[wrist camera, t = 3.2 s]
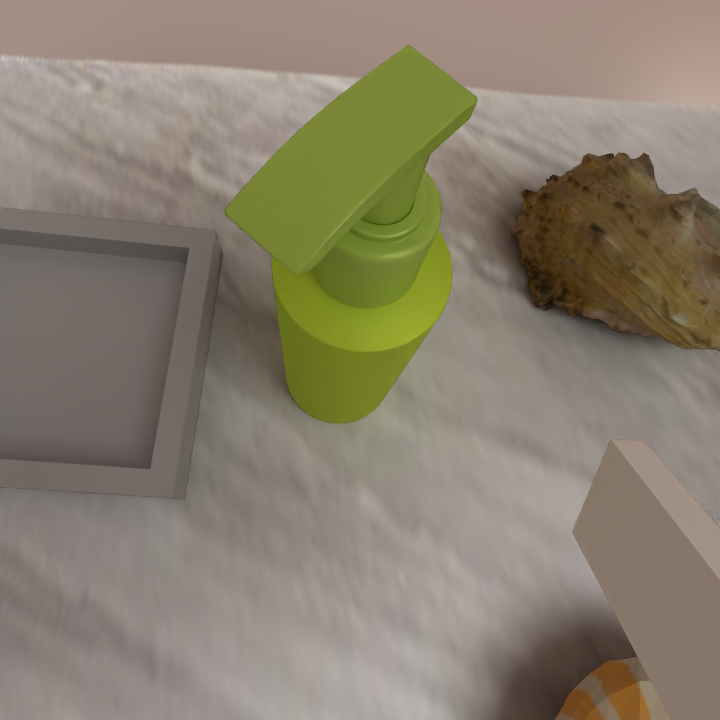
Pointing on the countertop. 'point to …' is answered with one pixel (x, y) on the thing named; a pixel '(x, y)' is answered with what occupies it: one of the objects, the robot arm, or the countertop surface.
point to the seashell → (624, 251)
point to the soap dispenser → (357, 234)
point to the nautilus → (614, 695)
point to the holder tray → (102, 351)
